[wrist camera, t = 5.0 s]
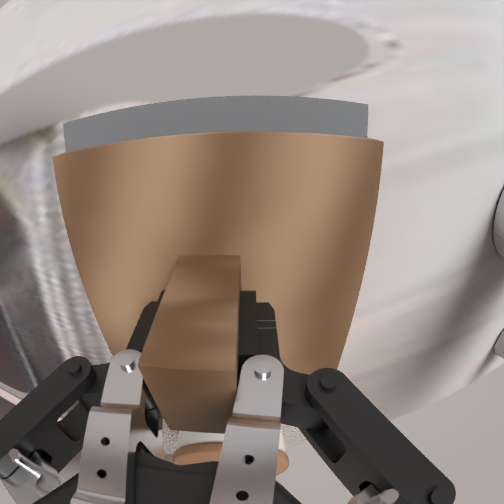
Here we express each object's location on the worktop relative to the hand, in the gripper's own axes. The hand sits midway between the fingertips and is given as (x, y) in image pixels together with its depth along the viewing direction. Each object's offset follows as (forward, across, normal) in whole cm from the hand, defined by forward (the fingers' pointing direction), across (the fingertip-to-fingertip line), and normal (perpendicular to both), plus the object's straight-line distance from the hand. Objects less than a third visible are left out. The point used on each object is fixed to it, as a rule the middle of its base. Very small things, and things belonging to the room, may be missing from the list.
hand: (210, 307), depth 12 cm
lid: (+2, 0, 0) cm, 2 cm away
